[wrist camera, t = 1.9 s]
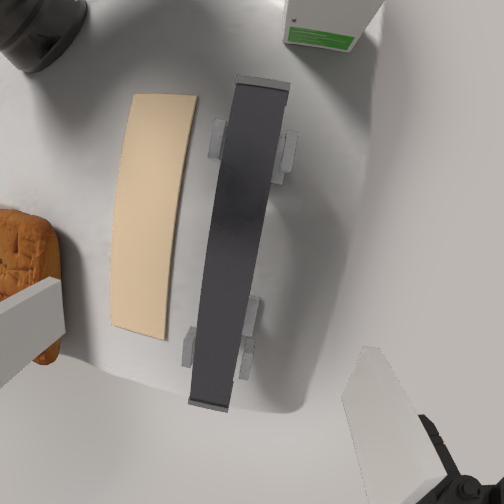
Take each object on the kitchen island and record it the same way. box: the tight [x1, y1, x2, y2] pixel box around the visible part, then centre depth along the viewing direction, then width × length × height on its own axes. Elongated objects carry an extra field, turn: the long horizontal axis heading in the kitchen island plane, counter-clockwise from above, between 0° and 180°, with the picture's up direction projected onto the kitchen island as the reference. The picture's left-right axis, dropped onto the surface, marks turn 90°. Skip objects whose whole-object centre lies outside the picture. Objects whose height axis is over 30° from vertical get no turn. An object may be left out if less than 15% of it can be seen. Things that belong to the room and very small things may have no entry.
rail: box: [188, 75, 290, 413], centre depth 22 cm, size 27×4×4 cm, turn 170°
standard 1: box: [182, 295, 260, 380], centre depth 29 cm, size 5×6×10 cm
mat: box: [110, 94, 197, 340], centre depth 32 cm, size 30×8×1 cm, turn 170°
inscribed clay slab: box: [0, 209, 61, 365], centre depth 32 cm, size 22×17×8 cm
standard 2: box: [208, 119, 299, 185], centre depth 25 cm, size 5×6×10 cm
